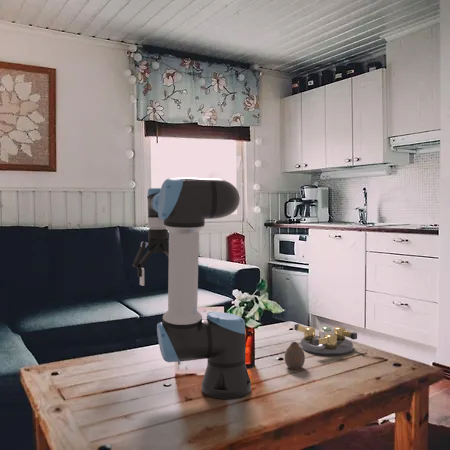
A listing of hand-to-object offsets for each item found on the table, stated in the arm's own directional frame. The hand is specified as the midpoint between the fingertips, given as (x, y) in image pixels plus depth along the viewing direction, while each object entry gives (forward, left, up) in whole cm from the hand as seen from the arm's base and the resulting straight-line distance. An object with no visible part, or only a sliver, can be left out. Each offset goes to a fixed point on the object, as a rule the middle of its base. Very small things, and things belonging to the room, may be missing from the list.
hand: (158, 283), depth 182 cm
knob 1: (-22, -54, -24) cm, 63 cm away
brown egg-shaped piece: (-42, -33, -26) cm, 59 cm away
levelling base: (-31, -58, -26) cm, 71 cm away
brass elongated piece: (-34, -65, -24) cm, 77 cm away
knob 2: (-37, -51, -24) cm, 68 cm away
